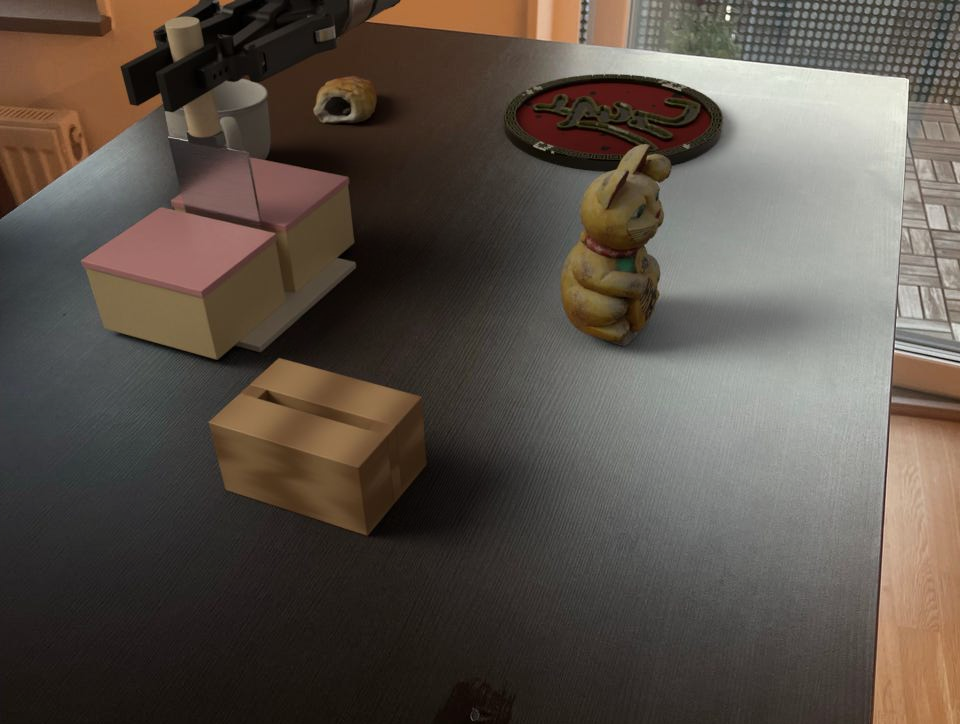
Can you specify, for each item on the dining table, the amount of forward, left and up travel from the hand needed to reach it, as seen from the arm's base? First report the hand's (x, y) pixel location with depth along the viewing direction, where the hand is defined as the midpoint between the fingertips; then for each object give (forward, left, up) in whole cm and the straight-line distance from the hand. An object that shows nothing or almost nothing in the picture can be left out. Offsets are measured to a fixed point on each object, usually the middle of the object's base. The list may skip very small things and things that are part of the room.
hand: (147, 89), depth 77 cm
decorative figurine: (+33, +13, -19) cm, 40 cm away
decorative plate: (+18, +54, -19) cm, 60 cm away
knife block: (+22, -15, -19) cm, 32 cm away
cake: (0, +5, -19) cm, 20 cm away
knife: (0, +6, -14) cm, 15 cm away
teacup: (-15, +25, -19) cm, 35 cm away
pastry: (-12, +45, -19) cm, 51 cm away
